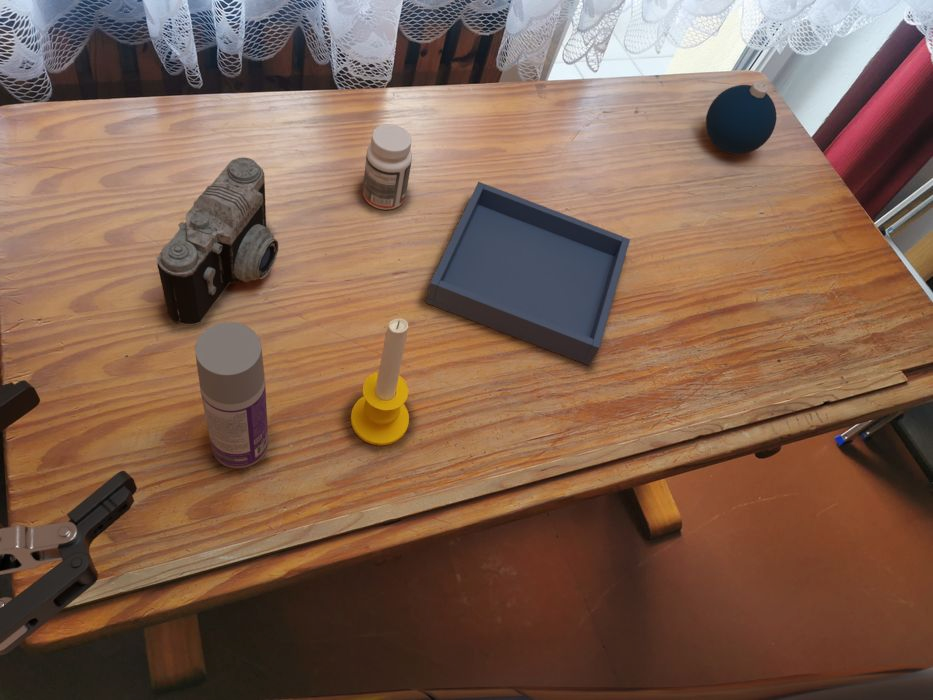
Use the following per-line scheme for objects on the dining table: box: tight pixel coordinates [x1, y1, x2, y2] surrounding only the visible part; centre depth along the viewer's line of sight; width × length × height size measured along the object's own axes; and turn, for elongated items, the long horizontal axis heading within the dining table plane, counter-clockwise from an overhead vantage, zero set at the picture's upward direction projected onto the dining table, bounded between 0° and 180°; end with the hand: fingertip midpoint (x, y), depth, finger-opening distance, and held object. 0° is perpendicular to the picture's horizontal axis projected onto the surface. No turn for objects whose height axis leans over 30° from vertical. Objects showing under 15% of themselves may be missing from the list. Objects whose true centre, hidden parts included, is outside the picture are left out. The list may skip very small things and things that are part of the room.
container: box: [194, 321, 269, 469], centre depth 60 cm, size 5×5×15 cm
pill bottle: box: [362, 123, 413, 211], centre depth 82 cm, size 5×5×8 cm
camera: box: [156, 156, 279, 326], centre depth 72 cm, size 15×7×10 cm, turn 160°
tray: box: [425, 181, 631, 366], centre depth 81 cm, size 18×16×3 cm
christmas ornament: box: [705, 81, 777, 155], centre depth 97 cm, size 8×8×10 cm
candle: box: [350, 318, 410, 447], centre depth 64 cm, size 5×5×16 cm
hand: (81, 433), depth 46 cm, fingers open, 8 cm apart
